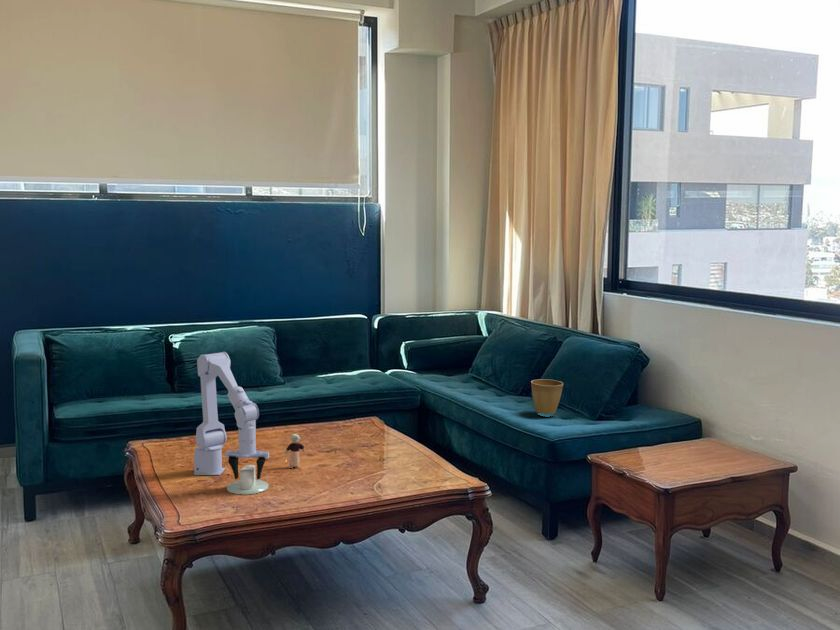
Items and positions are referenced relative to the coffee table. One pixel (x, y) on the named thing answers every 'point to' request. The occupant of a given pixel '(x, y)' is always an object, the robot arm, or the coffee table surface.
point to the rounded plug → (247, 477)
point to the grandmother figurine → (294, 451)
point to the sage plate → (257, 488)
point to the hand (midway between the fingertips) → (247, 478)
